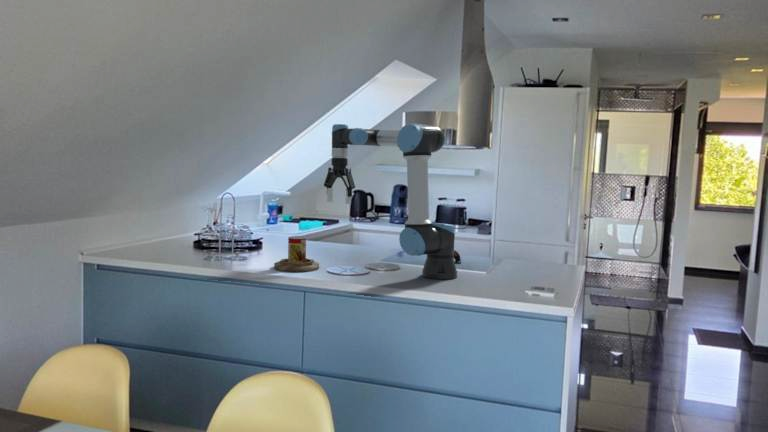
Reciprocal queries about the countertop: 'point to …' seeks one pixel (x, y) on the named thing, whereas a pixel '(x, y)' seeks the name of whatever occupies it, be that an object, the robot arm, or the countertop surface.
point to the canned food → (296, 249)
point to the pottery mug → (457, 257)
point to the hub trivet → (296, 266)
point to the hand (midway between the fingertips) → (338, 202)
